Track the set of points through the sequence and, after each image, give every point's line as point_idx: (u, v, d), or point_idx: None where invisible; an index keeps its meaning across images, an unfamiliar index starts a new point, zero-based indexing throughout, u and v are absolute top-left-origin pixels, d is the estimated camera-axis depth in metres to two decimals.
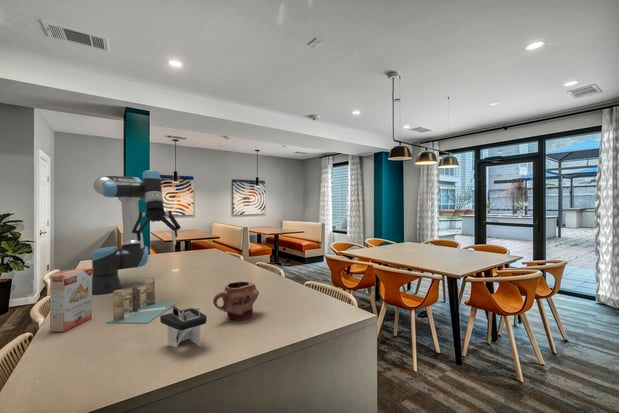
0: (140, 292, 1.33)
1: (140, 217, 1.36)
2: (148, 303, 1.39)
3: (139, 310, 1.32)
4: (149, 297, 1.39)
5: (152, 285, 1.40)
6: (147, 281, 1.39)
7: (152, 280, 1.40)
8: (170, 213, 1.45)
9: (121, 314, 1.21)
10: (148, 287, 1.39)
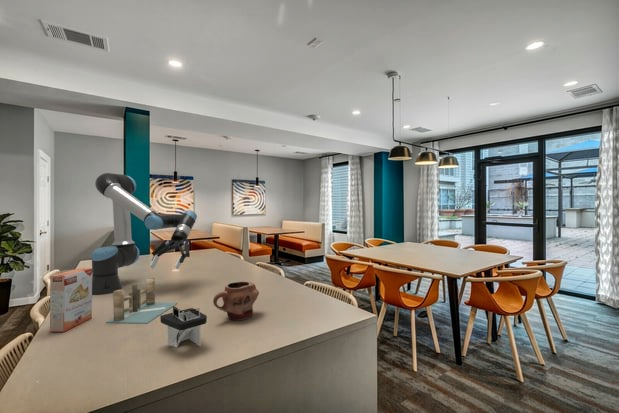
0: (140, 292, 1.33)
1: (163, 243, 1.60)
2: (148, 303, 1.39)
3: (139, 310, 1.32)
4: (149, 297, 1.39)
5: (152, 285, 1.40)
6: (147, 281, 1.39)
7: (152, 280, 1.40)
8: (186, 242, 1.59)
9: (121, 314, 1.21)
10: (148, 287, 1.39)
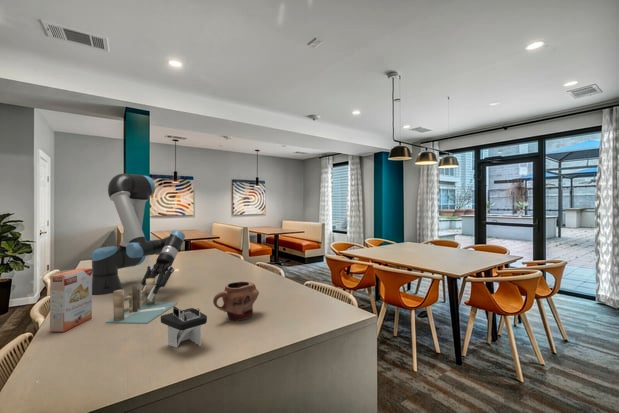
0: (140, 292, 1.33)
1: (148, 270, 1.47)
2: (148, 303, 1.39)
3: (139, 310, 1.32)
4: None
5: (152, 285, 1.40)
6: (147, 281, 1.39)
7: (152, 280, 1.40)
8: (169, 269, 1.46)
9: (121, 314, 1.21)
10: (148, 287, 1.39)
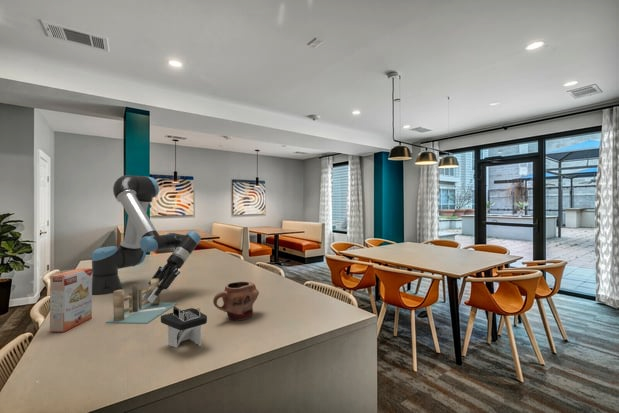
0: (141, 292, 1.33)
1: (158, 270, 1.47)
2: (152, 303, 1.38)
3: (139, 310, 1.32)
4: None
5: (156, 286, 1.39)
6: (151, 281, 1.38)
7: (156, 281, 1.39)
8: (174, 271, 1.42)
9: (121, 314, 1.21)
10: (152, 287, 1.38)
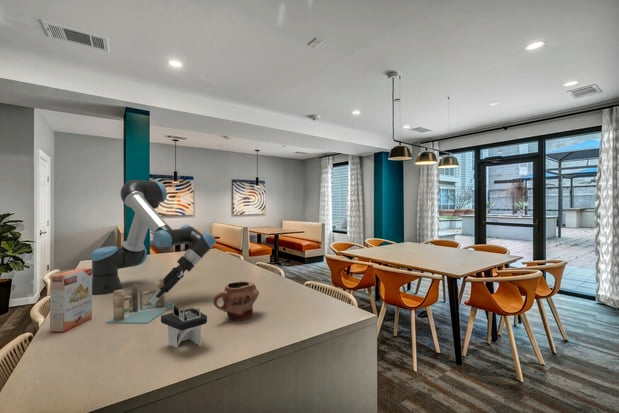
0: (142, 293, 1.32)
1: (170, 271, 1.44)
2: (156, 305, 1.36)
3: (139, 310, 1.32)
4: None
5: None
6: (155, 282, 1.36)
7: (159, 282, 1.35)
8: (177, 274, 1.36)
9: (121, 314, 1.21)
10: (156, 289, 1.36)
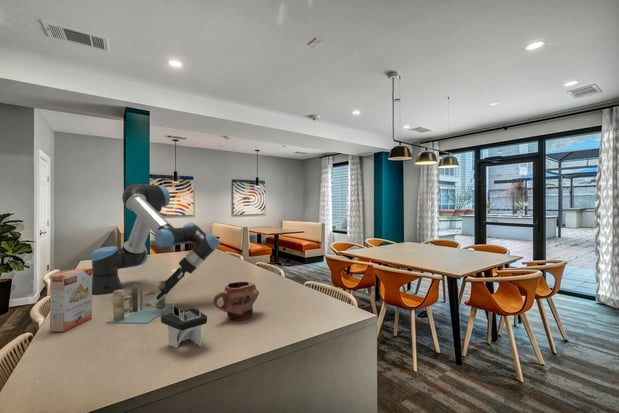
0: (142, 293, 1.31)
1: None
2: (156, 307, 1.34)
3: (139, 310, 1.32)
4: None
5: (158, 289, 1.33)
6: (156, 284, 1.34)
7: (158, 284, 1.33)
8: (176, 275, 1.31)
9: (121, 314, 1.21)
10: (156, 290, 1.34)
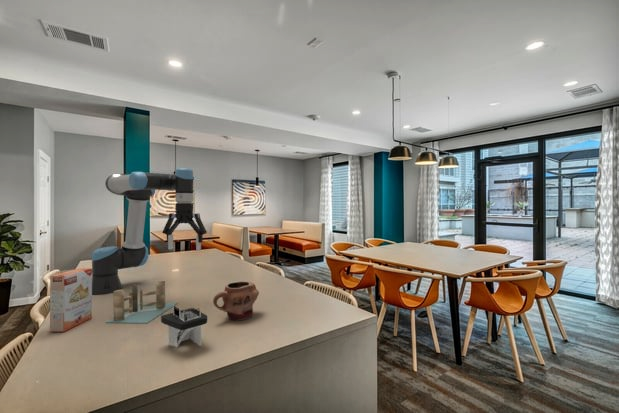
0: (142, 293, 1.31)
1: (169, 219, 1.37)
2: (156, 307, 1.34)
3: (139, 310, 1.32)
4: (156, 301, 1.34)
5: (158, 289, 1.33)
6: (156, 284, 1.34)
7: (158, 284, 1.33)
8: (196, 216, 1.35)
9: (121, 314, 1.21)
10: (156, 290, 1.34)
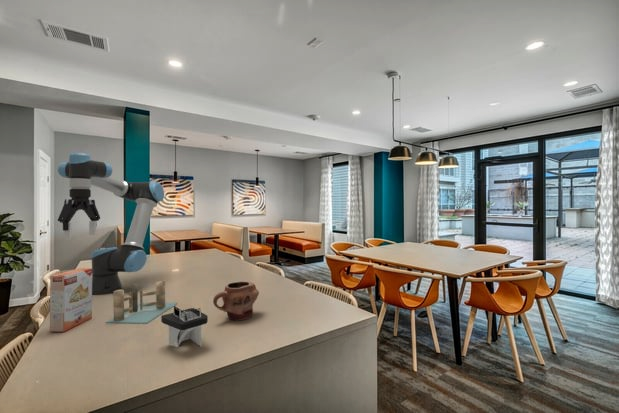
0: (142, 293, 1.31)
1: None
2: (156, 307, 1.34)
3: (139, 310, 1.32)
4: (156, 301, 1.34)
5: (158, 289, 1.33)
6: (156, 284, 1.34)
7: (158, 284, 1.33)
8: None
9: (121, 314, 1.21)
10: (156, 290, 1.34)
